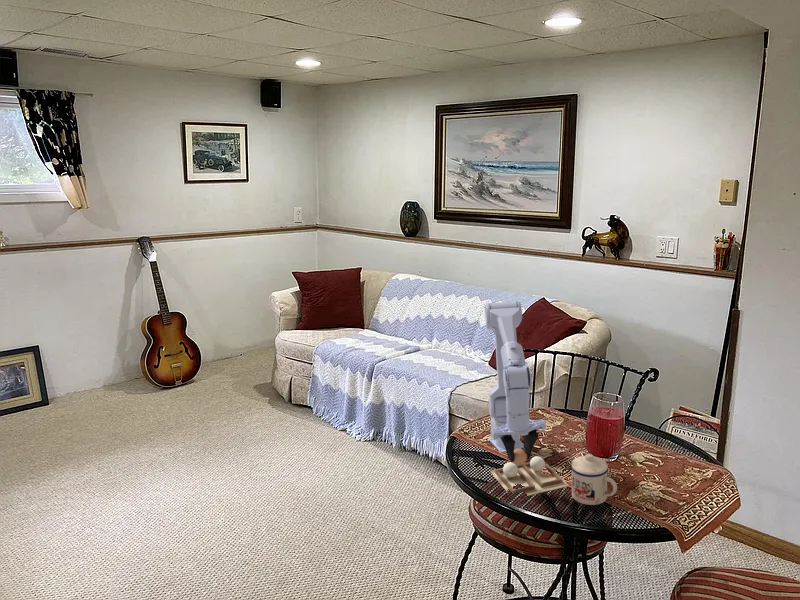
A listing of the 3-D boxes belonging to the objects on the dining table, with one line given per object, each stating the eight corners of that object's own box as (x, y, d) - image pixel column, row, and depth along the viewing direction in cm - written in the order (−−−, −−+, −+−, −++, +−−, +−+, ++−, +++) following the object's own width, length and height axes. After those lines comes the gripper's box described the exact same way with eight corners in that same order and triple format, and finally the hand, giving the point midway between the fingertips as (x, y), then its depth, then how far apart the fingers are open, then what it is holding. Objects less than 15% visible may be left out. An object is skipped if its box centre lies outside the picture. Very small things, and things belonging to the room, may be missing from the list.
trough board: (489, 472, 184) (489, 467, 183) (542, 460, 188) (542, 455, 187) (513, 500, 170) (513, 495, 169) (569, 487, 174) (569, 482, 173)
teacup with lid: (563, 497, 169) (563, 456, 166) (583, 482, 175) (583, 442, 172) (606, 515, 161) (606, 472, 158) (625, 499, 167) (626, 457, 164)
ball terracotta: (509, 461, 175) (508, 447, 174) (522, 458, 176) (522, 444, 175) (515, 468, 171) (515, 454, 170) (529, 465, 172) (529, 451, 171)
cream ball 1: (500, 474, 181) (500, 461, 180) (514, 471, 182) (513, 458, 181) (507, 481, 178) (506, 468, 177) (520, 478, 179) (520, 465, 178)
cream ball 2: (527, 468, 183) (527, 455, 182) (540, 465, 184) (540, 452, 183) (534, 475, 180) (534, 462, 179) (547, 472, 181) (547, 459, 180)
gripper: (497, 422, 164) (499, 471, 168) (551, 411, 168) (551, 459, 171) (486, 411, 171) (488, 458, 174) (538, 400, 174) (539, 447, 178)
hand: (519, 458), depth 173 cm, fingers closed on ball terracotta, 4 cm apart
